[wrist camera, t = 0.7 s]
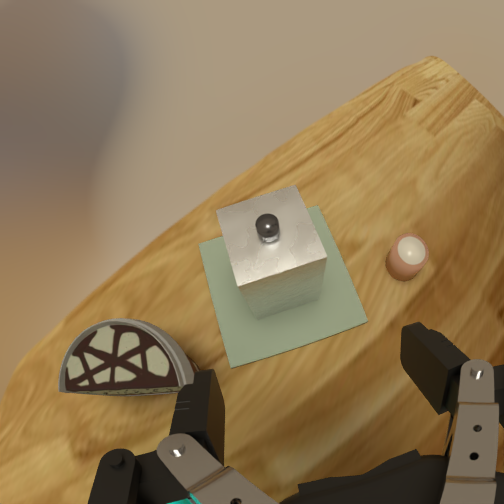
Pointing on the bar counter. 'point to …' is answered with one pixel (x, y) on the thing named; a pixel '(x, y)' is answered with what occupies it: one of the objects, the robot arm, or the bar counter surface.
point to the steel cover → (274, 251)
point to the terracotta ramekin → (407, 257)
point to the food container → (125, 361)
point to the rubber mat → (285, 323)
